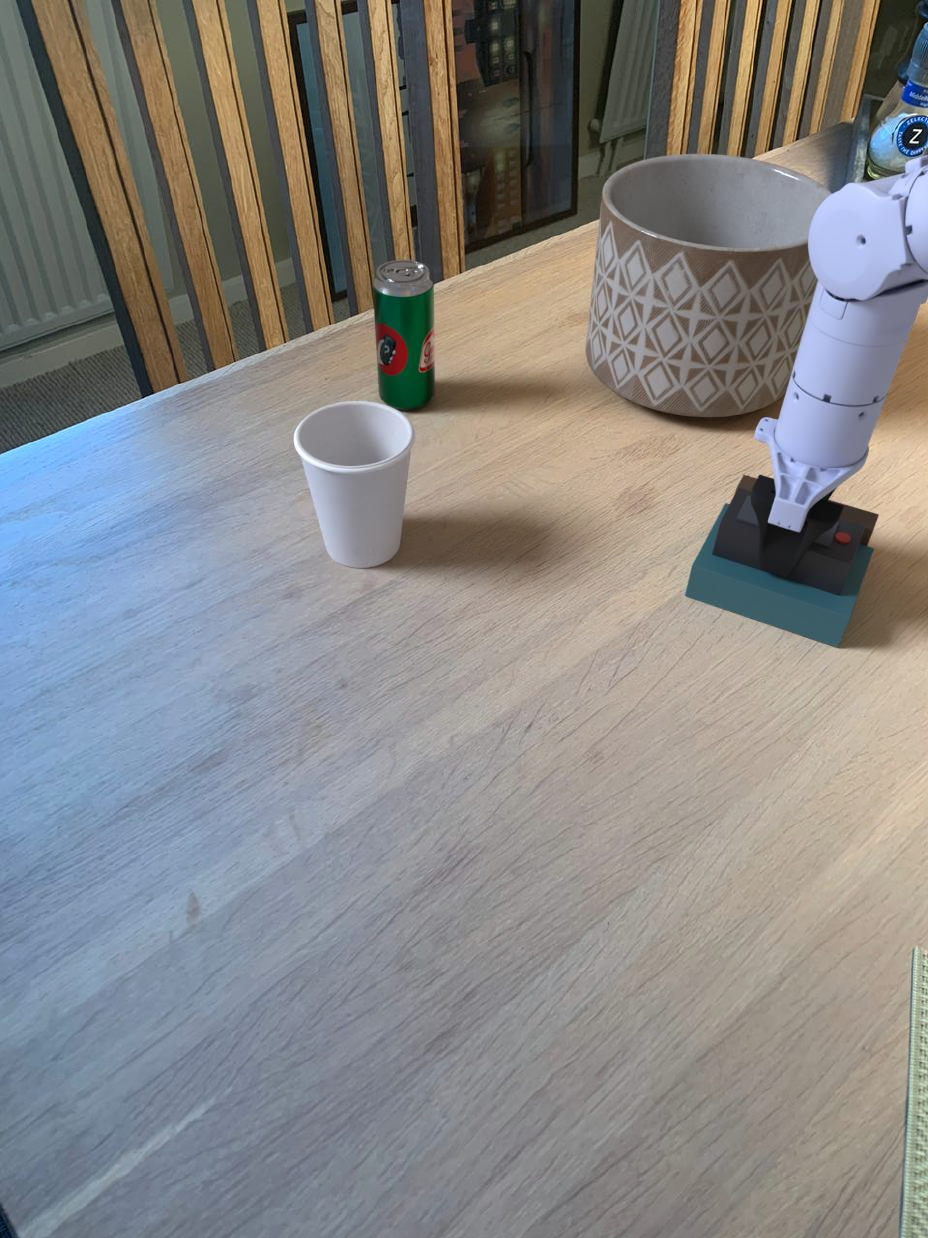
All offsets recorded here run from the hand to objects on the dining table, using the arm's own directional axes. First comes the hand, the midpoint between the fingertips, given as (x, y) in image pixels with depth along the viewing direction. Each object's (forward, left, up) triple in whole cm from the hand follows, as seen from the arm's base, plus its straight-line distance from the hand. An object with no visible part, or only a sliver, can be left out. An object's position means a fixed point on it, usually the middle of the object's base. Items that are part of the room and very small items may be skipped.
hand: (784, 548), depth 70 cm
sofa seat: (0, 0, -4) cm, 4 cm away
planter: (+15, -25, -4) cm, 29 cm away
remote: (0, 0, -1) cm, 1 cm away
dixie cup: (+29, +10, -4) cm, 31 cm away
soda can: (+36, -9, -4) cm, 37 cm away
